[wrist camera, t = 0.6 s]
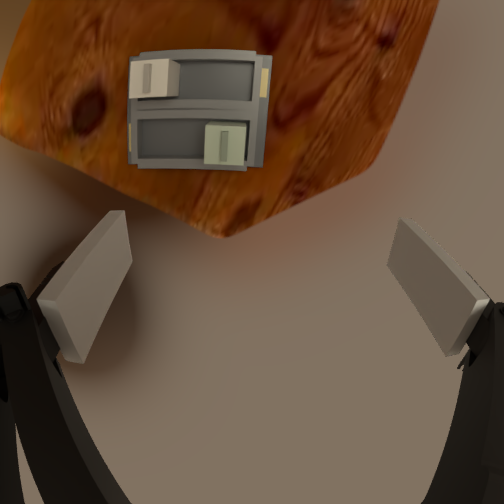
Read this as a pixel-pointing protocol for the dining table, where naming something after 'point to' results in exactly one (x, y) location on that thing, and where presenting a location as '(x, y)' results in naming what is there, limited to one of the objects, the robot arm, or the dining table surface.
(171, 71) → the ivory tab
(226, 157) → the sage tab
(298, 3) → the dining table surface
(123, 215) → the robot arm
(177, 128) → the switch bank
